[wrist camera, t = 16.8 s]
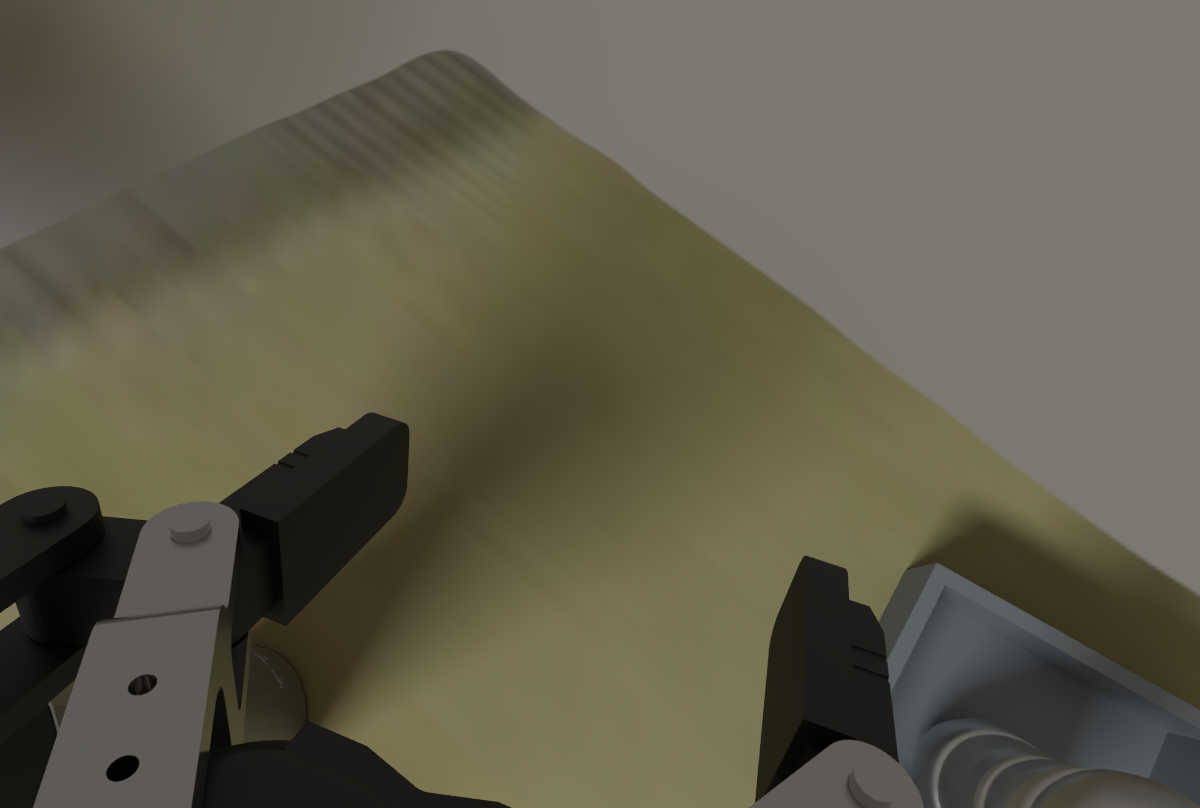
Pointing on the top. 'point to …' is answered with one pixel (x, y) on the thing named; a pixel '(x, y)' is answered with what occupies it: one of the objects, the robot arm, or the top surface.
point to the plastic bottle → (1019, 774)
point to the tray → (1027, 684)
